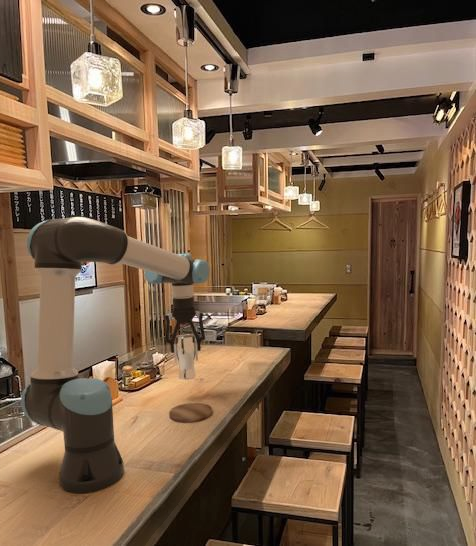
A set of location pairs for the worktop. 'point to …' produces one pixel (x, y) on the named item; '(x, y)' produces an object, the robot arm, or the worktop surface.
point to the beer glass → (186, 356)
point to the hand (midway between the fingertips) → (186, 360)
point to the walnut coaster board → (190, 412)
